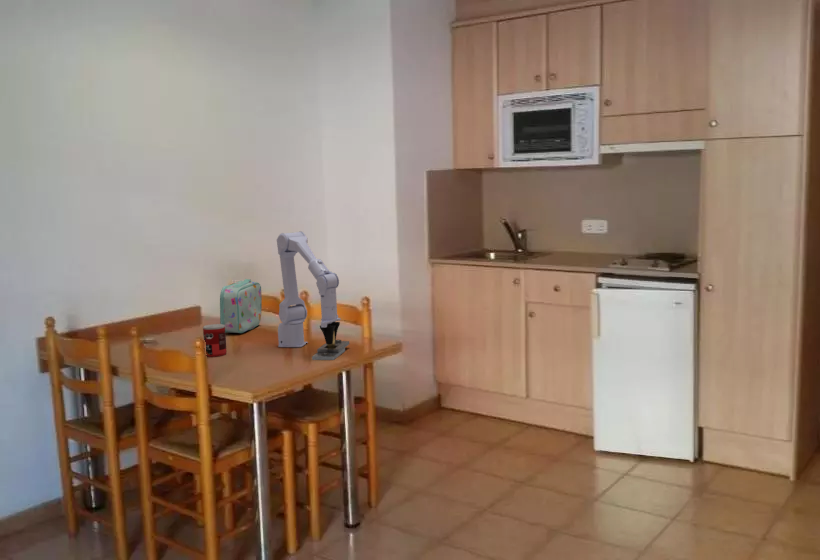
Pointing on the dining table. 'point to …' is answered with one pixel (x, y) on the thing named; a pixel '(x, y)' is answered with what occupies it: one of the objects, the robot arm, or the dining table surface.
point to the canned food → (215, 340)
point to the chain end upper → (338, 347)
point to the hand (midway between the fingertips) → (330, 343)
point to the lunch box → (240, 306)
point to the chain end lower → (326, 355)
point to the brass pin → (332, 343)
